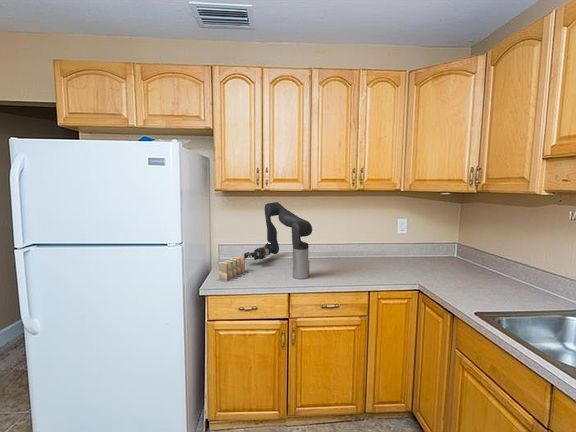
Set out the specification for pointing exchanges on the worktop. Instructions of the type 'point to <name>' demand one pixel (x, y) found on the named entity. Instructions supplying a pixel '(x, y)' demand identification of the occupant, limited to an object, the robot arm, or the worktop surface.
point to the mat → (233, 277)
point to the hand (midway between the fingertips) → (249, 257)
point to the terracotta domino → (242, 263)
